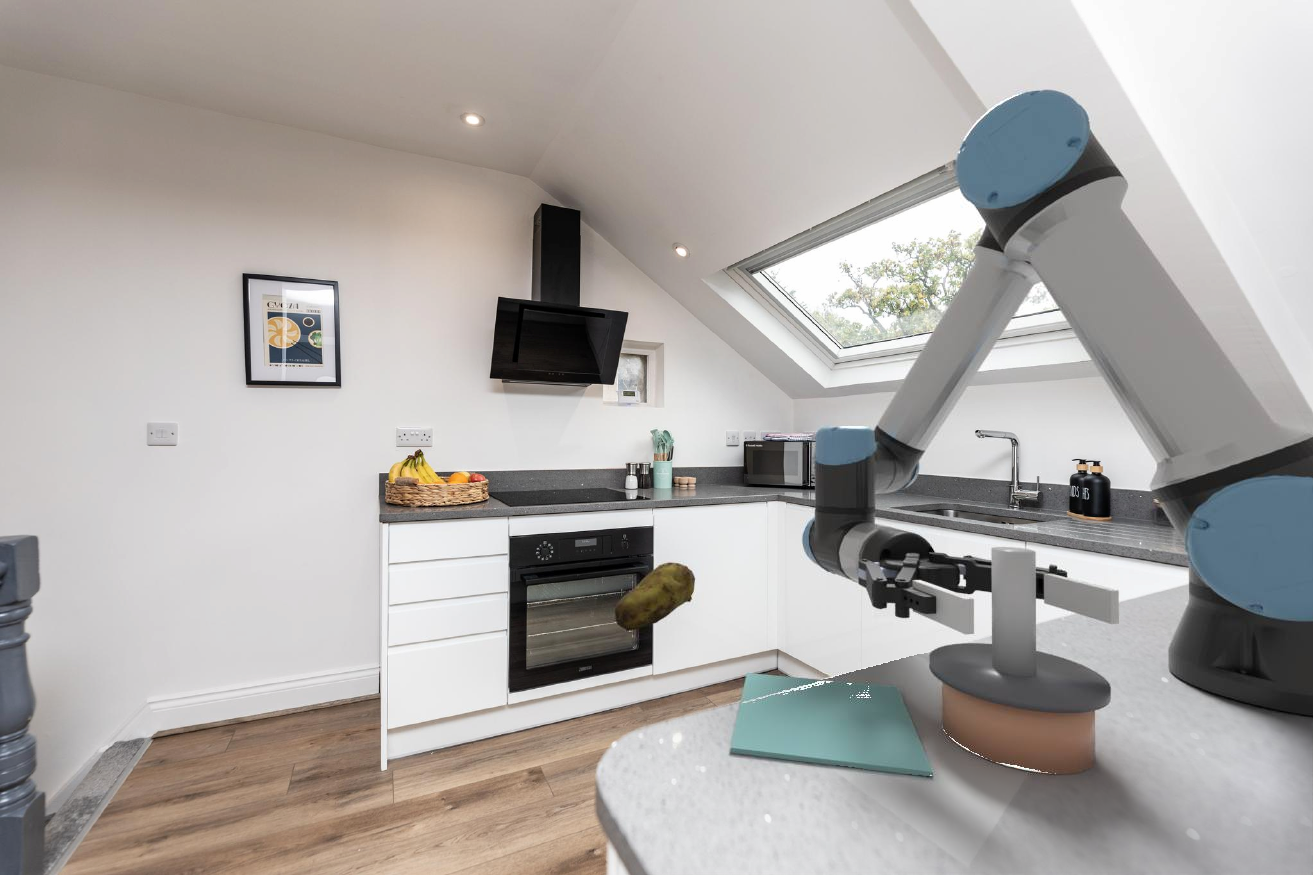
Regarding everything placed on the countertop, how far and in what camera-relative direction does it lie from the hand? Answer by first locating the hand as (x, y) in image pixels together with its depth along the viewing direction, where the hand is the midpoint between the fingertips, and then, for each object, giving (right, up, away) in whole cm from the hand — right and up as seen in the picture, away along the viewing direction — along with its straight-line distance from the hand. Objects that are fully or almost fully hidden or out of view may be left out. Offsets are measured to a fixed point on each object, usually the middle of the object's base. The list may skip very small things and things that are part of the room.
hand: (1045, 611), depth 47 cm
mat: (-16, -12, +7) cm, 21 cm away
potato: (-31, -12, +35) cm, 48 cm away
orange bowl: (-1, -12, +3) cm, 12 cm away
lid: (-1, -7, +3) cm, 7 cm away
